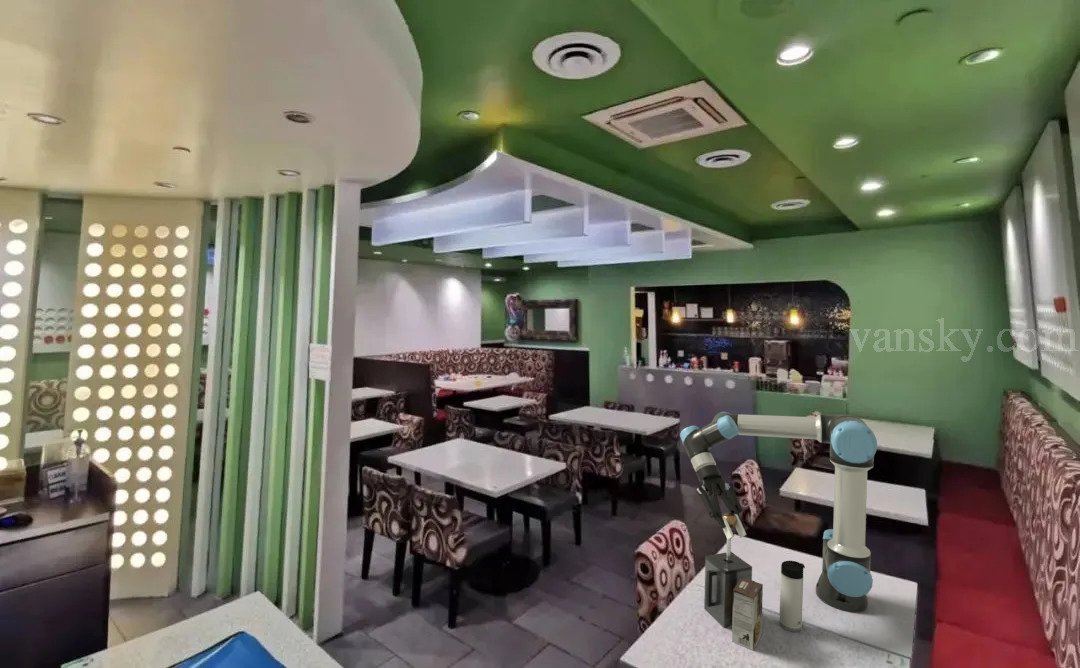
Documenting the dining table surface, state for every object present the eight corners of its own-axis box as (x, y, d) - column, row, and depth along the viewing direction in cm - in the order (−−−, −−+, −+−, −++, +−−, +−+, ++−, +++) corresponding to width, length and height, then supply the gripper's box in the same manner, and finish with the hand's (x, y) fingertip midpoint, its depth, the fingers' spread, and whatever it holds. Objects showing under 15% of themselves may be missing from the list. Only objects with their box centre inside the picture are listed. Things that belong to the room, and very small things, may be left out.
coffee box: (740, 626, 151) (741, 576, 151) (762, 635, 147) (763, 583, 146) (730, 641, 144) (732, 588, 143) (753, 651, 140) (755, 597, 139)
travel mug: (805, 633, 148) (807, 570, 147) (782, 630, 149) (784, 567, 148) (799, 621, 154) (801, 559, 153) (776, 618, 155) (778, 557, 154)
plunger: (729, 579, 161) (731, 509, 160) (745, 592, 154) (747, 519, 153) (710, 582, 159) (711, 512, 158) (725, 595, 152) (727, 521, 150)
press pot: (729, 603, 163) (731, 551, 162) (750, 622, 153) (752, 566, 152) (697, 610, 159) (698, 556, 158) (716, 629, 150) (718, 572, 149)
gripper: (721, 471, 172) (753, 538, 157) (679, 476, 167) (708, 545, 152) (732, 461, 167) (765, 529, 152) (689, 465, 162) (719, 536, 147)
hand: (737, 536), depth 152 cm, fingers closed on plunger, 4 cm apart
